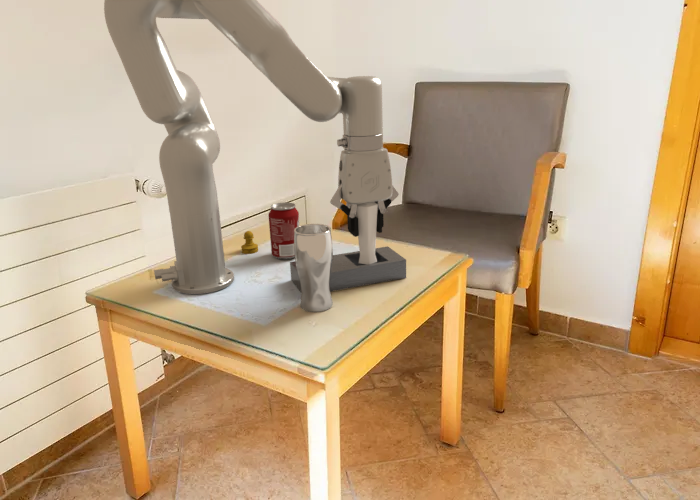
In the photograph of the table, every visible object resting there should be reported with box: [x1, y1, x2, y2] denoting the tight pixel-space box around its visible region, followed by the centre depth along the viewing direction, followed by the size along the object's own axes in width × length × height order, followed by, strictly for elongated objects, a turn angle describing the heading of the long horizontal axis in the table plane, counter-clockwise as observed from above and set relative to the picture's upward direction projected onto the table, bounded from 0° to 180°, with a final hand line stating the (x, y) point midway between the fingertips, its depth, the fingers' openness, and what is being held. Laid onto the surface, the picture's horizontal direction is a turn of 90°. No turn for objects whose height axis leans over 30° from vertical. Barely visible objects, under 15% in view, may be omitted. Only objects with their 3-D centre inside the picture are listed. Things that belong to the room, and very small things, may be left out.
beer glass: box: [294, 223, 334, 313], centre depth 109 cm, size 7×7×15 cm
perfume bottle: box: [356, 202, 378, 264], centre depth 120 cm, size 5×4×15 cm
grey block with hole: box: [289, 246, 407, 293], centre depth 122 cm, size 22×9×4 cm, turn 111°
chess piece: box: [240, 230, 259, 255], centre depth 140 cm, size 4×4×5 cm
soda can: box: [267, 201, 300, 261], centre depth 135 cm, size 7×7×12 cm
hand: (365, 232), depth 121 cm, fingers closed on perfume bottle, 4 cm apart
